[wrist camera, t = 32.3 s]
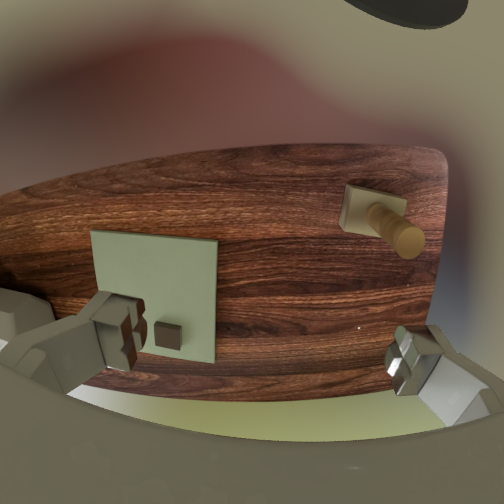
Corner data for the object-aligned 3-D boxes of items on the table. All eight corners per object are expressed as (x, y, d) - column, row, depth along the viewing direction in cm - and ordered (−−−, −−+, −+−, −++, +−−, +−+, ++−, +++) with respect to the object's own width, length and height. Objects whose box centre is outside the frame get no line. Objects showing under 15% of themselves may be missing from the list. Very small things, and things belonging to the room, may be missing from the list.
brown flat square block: (155, 320, 40) (153, 325, 39) (181, 325, 40) (179, 330, 39) (157, 341, 42) (154, 345, 41) (181, 346, 42) (180, 351, 41)
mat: (92, 229, 36) (90, 230, 36) (218, 239, 36) (217, 242, 35) (112, 342, 44) (110, 345, 43) (215, 360, 44) (214, 363, 43)
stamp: (346, 183, 33) (384, 207, 22) (397, 194, 33) (448, 223, 22) (338, 223, 35) (369, 264, 23) (388, 232, 35) (432, 273, 23)
